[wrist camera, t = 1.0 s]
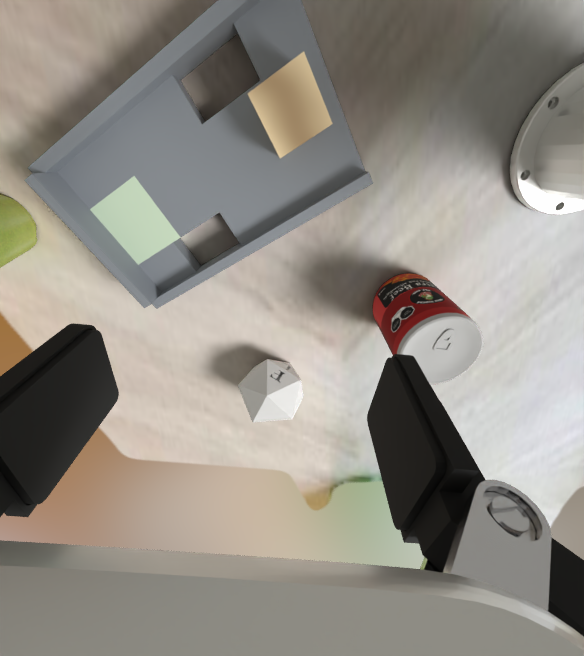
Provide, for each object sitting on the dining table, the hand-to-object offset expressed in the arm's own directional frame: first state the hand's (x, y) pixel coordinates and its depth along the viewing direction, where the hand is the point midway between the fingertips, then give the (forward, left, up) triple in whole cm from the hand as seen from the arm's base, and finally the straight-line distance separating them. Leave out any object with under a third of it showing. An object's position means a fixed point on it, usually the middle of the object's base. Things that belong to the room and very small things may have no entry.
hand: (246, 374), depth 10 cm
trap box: (+3, -7, -25) cm, 26 cm away
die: (+11, +18, -25) cm, 33 cm away
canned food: (-9, +16, -25) cm, 31 cm away
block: (-6, -7, -23) cm, 25 cm away
